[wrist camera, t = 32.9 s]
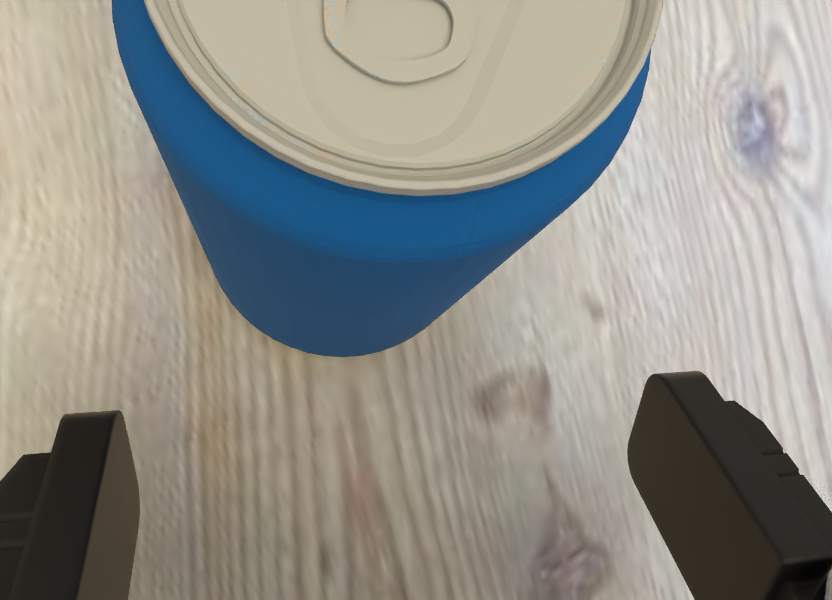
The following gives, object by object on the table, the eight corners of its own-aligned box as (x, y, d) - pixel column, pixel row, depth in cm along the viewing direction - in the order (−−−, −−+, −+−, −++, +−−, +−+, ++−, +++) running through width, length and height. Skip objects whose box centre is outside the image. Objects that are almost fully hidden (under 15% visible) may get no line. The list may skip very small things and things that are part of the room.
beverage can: (474, 132, 21) (711, -266, 9) (453, 373, 19) (697, 273, 8) (227, 94, 20) (139, -402, 8) (189, 344, 19) (21, 180, 7)
